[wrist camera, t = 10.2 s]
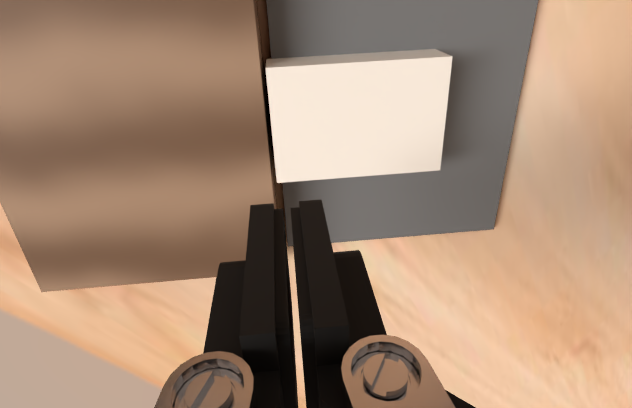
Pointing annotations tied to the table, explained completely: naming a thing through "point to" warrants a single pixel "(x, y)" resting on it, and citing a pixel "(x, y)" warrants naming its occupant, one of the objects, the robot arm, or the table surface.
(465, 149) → the charcoal mat
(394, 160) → the ivory tile
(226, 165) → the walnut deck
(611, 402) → the table surface
